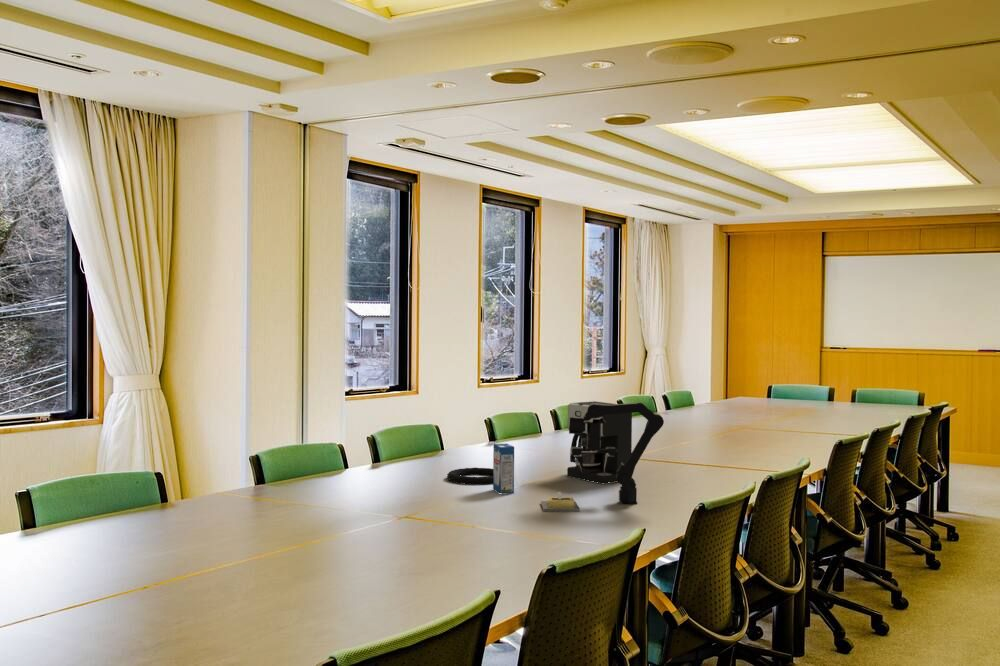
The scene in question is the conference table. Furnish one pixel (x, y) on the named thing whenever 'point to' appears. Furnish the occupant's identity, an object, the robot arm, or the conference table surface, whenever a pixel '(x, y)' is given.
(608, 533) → the conference table surface
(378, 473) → the conference table surface
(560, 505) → the yellow rectangular frame
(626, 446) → the coffee maker
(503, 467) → the milk carton
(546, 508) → the keeper plate
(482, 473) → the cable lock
